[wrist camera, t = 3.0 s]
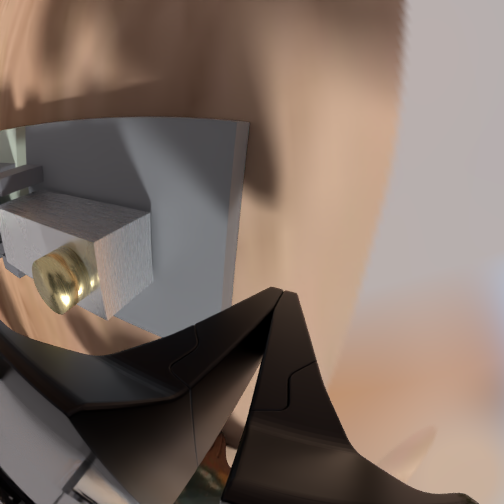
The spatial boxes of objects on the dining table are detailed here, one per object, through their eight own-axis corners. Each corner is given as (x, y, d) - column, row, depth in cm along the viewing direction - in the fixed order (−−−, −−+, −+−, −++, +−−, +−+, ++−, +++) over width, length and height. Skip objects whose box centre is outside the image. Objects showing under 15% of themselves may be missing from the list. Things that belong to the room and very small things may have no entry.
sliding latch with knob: (228, 342, 14) (174, 428, 9) (19, 251, 18) (-29, 280, 14) (249, 122, 9) (154, 124, 5) (5, 129, 14) (-55, 146, 9)
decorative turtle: (106, 361, 19) (45, 431, 12) (302, 430, 17) (279, 534, 10) (124, 424, 23) (85, 481, 16) (272, 478, 21) (251, 548, 14)
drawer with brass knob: (153, 281, 12) (85, 339, 8) (46, 240, 14) (-10, 271, 10) (150, 212, 10) (64, 259, 7) (39, 189, 12) (-24, 215, 9)
